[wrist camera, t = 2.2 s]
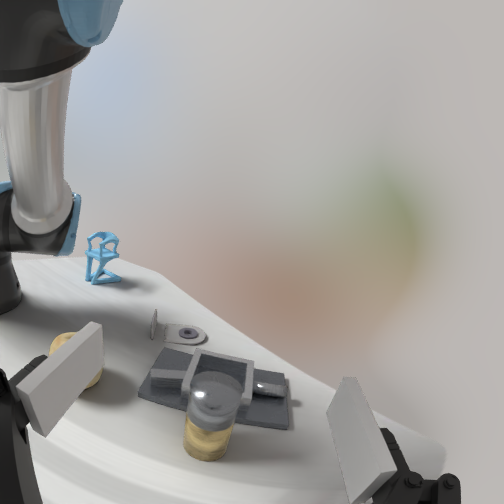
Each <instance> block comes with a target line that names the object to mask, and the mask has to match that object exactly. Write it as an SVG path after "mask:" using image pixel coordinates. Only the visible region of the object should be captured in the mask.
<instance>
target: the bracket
mask: <svg viewBox="0 0 504 504" xmlns="http://www.w3.org/2000/svg"><path fill="white" fill-rule="evenodd" d="M156 324H157V309H155V312H154V316H153V319H152V323H151V340H153V337H154V333H155V329H156ZM166 326H167V328H165V335H164V336H166V339H165V340H164V342H169V343H176V344H186V345H193V344H198V343H201V342H202V341H204V339H205V336H206V335H205V332H204V331H203V330H201V329H200V328H198V327H194V326H188V325H175V324H166ZM186 333H189V334H190V335H187V334H186Z"/></svg>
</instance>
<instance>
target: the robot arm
mask: <svg viewBox="0 0 504 504" xmlns="http://www.w3.org/2000/svg"><path fill="white" fill-rule="evenodd" d="M122 2H123V0H0V129H1V136H2V141H3V148H4V152H5V158H6V163H7V167H8V171H9V175H10V180H11V181H4V182H0V314H2V313H5V312H8V311H10V310H11V309H13V308H15V307H16V306H17V305H18V304H19V302H20V301H21V287H20V284H19V281H18V278H17V275H16V273H15V270H14V267H13V264H12V259H11V252H18V253H30V254H42V255H53V256H68V255H70V254H71V253H72V252H73V249H74V246H75V239H76V232H77V227H78V221H79V214H80V206H81V196H80V195H79V194H75V193H74V192H72V191H71V188H70V186H69V185H68V183H67V182H66V181H65V180H64V179H63V178H64V177H63V161H64V157H63V155H64V133H65V120H66V109H67V100H68V93H69V86H70V79H71V73H72V69H73V68H74V67H76V66H77V65H78V64H80V63H81V62H82V61H83V60H85V58H86V57H87V56H88V54H89V53H90V50H91V47H92V46H94V45H99V44H101V43H103V42H104V41H105V40H106V39H107V37H108V36H109V34H110V32H111V30H112V28H113V26H114V23H115V21H116V18H117V15H118V12H119V9H120V6H121V4H122ZM104 365H105V364H104V351H103V329H102V325H101V324H98V323H95V322H92V321H91V322H89V323H88V324H87V325H86V326H84V327H83V328H82V329H81V330H80V331H78V332H77V333H76V334H75V335H74V336H72V337H71V338H70V339H69V340H68V341H66V342H65V343H64V344H63V345H62V346H61V347H59V348H58V349H57V350H56V351H55V352H54V353H52V354H51V355H50V356H49V357H47V356H45V355H41V356H39V357H36V358H34V359H33V360H32V361H31V362H30V363H29V364H27V365H26V366H25V367H24V369H21V370H20V371H19V372H18V373H17V374H16V375H14V376H13V377H12V378H11V379H10V380H9V381H8V380H7V377H6V374H5V372H4V371H3V370H2V369H0V504H43V502H42V499H41V495H40V492H39V488H38V484H37V480H36V476H35V472H34V467H33V462H32V457H31V451H30V445H29V438H28V430H27V427H26V425H27V424H28V423H29V422H30V424H31V426H32V428H33V430H34V431H36V432H37V433H39V434H40V435H42V436H44V437H45V438H46V437H47V435H48V434H49V433H50V431H51V430H52V429H53V428H54V426H55V425H56V424H57V422H58V421H59V420H60V419H61V417H62V416H63V415H64V414H65V412H66V411H67V410H68V409H69V407H70V406H71V405H72V404H73V402H74V401H75V400H76V399H77V397H78V396H79V395H80V394H81V393H82V391H83V390H84V389H85V388H86V386H87V385H88V384H89V383H90V382H91V380H92V379H93V378H94V377H95V376H96V374H97V373H98V372H99V371H100V370H101V368H102V367H103V366H104ZM326 413H327V417H328V420H329V424H330V428H331V432H332V436H333V439H334V443H335V447H336V451H337V455H338V459H339V463H340V467H341V471H342V475H343V479H344V483H345V487H346V491H347V495H348V500H349V504H359V503H365V502H366V501H367V500H368V499H369V498H371V497H372V499H373V503H372V504H461V489H460V488H461V487H460V481H459V479H458V478H457V477H456V476H455V475H453V474H450V473H448V474H443V475H442V476H441V477H440V478H439V479H438V480H424V479H423V478H422V476H421V475H420V474H418V473H416V472H412V471H410V470H409V467H408V465H407V463H406V461H405V459H404V457H403V454H402V452H401V450H399V446H398V444H397V442H396V440H395V437H394V435H393V434H392V433H391V432H390V431H389V430H388V429H387V428H379V426H378V424H377V422H376V420H375V417H374V415H373V413H372V411H371V409H370V407H369V404H368V402H367V400H366V398H365V396H364V394H363V392H362V389H361V387H360V385H359V383H358V381H357V379H356V378H352V377H343V379H342V381H341V383H340V386H339V388H338V390H337V392H336V394H335V396H334V398H333V400H332V402H331V404H330V406H329V408H328V410H327V412H326Z"/></svg>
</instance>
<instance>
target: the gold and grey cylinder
mask: <svg viewBox="0 0 504 504" xmlns="http://www.w3.org/2000/svg"><path fill="white" fill-rule="evenodd" d="M242 393H243V390H242V386H241V385H240V383H239V382H238V381H237V380H236V379H234V378H233V377H231V376H229V375H227V374H224V373H221V372H215V371H207V372H201V373H199V374H197V375H195V376H194V377H193V378H192V380H191V382H190V389H189V397H188V405H187V414H186V422H185V431H184V441H183V445H184V448H185V450H186V452H187V453H188V454H189V455H190V456H192V457H193V458H195V459H198V460H201V461H214V460H217V459H219V458H221V457H222V456H223V455H224V454H225V452H226V449H227V445H228V442H229V438H230V435H231V432H232V428H233V425H234V421H235V418H236V415H237V411H238V408H239V404H240V401H241V397H242Z"/></svg>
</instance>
